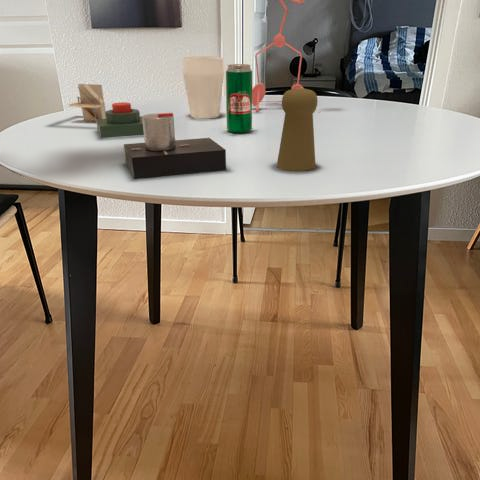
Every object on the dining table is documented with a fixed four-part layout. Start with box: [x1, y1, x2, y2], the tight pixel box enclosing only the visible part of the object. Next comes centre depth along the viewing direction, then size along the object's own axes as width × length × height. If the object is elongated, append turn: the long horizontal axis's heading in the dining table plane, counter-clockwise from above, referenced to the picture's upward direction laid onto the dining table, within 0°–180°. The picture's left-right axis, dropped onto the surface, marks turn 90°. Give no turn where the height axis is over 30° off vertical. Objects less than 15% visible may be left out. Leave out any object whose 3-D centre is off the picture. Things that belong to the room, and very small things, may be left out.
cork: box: [276, 87, 318, 172], centre depth 75 cm, size 6×6×11 cm
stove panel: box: [123, 137, 227, 179], centre depth 77 cm, size 14×9×3 cm, turn 109°
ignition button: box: [111, 101, 132, 113], centre depth 98 cm, size 4×4×2 cm
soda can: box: [225, 63, 253, 135], centre depth 97 cm, size 5×5×12 cm
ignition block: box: [95, 108, 144, 139], centre depth 99 cm, size 10×8×4 cm
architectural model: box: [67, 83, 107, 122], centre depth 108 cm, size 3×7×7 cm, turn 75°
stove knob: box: [141, 112, 176, 151], centre depth 74 cm, size 5×5×5 cm
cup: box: [182, 56, 225, 120], centre depth 112 cm, size 9×9×12 cm
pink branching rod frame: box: [252, 0, 321, 114], centre depth 116 cm, size 15×26×35 cm, turn 76°
